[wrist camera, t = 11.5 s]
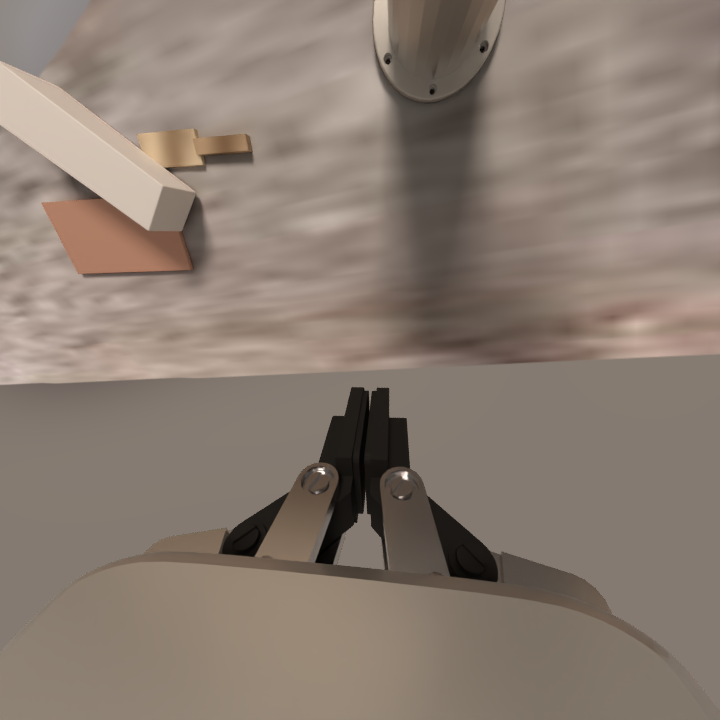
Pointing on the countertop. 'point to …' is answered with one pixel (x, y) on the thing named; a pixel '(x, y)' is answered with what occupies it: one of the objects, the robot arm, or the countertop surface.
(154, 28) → the countertop surface
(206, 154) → the turner
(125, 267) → the mat
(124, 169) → the milk
